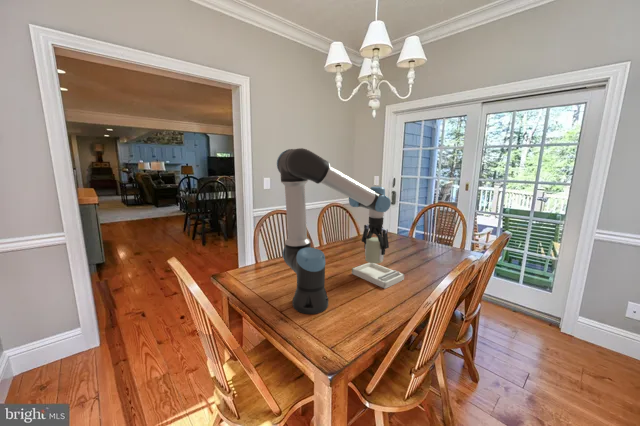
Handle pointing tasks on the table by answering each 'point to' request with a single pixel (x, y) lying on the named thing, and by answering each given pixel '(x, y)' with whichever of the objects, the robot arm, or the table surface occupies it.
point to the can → (372, 250)
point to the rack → (378, 274)
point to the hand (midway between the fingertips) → (373, 257)
